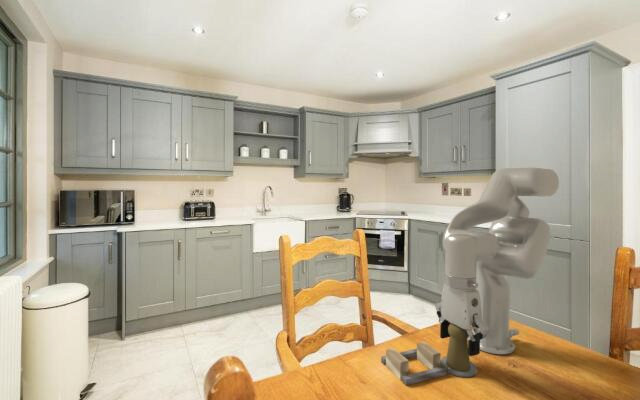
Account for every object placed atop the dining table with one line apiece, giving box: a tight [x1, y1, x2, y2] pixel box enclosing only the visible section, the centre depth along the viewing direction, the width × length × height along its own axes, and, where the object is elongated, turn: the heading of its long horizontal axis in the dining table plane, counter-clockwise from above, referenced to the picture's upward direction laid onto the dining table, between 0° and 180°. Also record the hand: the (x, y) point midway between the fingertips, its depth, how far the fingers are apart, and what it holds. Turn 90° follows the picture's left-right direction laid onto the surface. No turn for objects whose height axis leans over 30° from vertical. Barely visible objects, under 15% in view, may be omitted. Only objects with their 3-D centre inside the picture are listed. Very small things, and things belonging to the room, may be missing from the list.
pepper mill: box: [446, 322, 471, 372], centre depth 84 cm, size 6×6×11 cm
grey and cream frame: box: [380, 341, 448, 386], centre depth 84 cm, size 12×11×4 cm
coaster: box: [440, 355, 478, 378], centre depth 84 cm, size 9×9×1 cm
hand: (458, 345), depth 84 cm, fingers open, 9 cm apart
